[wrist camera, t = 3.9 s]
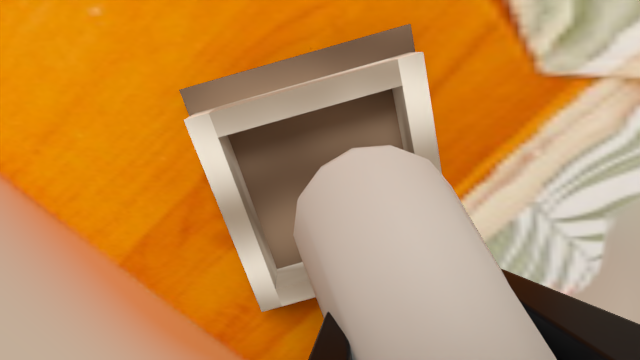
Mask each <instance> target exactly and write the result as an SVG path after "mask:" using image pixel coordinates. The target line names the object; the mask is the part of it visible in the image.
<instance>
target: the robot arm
mask: <svg viewBox="0 0 640 360" xmlns="http://www.w3.org/2000/svg"><path fill="white" fill-rule="evenodd" d="M501 270H502V272H503V274H504V276H505V278H506V280H507V282H508V284H509V285H510V287H511V289H512V290H513V292H514V293H515V295H516V296H517V298H518V299H519V301H520V303H521V304H522V306H523V307H524V309H525V310H526V312H527V314H528V315H529V317H530V318H531V320H532V321H533V323H534V325H535V326H536V328H537V329H538V331H539V332H540V334H541V335H542V337H543V339H544V340H545V342H546V343H547V345H548V346H549V348H550V350H551V351H552V353H553V354H554V356H555V357H556V359H557V360H640V324H638V323H635V322H632V321H630V320H628V319H625V318H623V317H620V316H618V315H615V314H613V313H610V312H608V311H605V310H603V309H600V308H598V307H595V306H592V305H590V304H588V303H585V302H583V301H580V300H578V299H575V298H573V297H570V296H568V295H565V294H563V293H560V292H558V291H555V290H553V289H550V288H548V287H545V286H543V285H540V284H538V283H535V282H533V281H530V280H528V279H525V278H523V277H520V276H518V275H516V274H513V273H511V272H508V271H506V270H503V269H501ZM308 360H352V354H351V348H350V344H349V341H348V339H347V337H346V336H345V334H344V332H343V331H342V330H341V328H340V327H339V325H338V324H337V322H336V321H335V319H334V318H333V316H332V315H331V314H330V312H329V311H328V312H327V313H326V316H325V318H324V321H323V323H322V326H321V328H320V331H319V334H318V336H317V339H316V341H315V344H314V346H313V349H312V351H311V354H310V356H309V359H308Z"/></svg>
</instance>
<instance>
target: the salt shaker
mask: <svg viewBox="0 0 640 360" xmlns="http://www.w3.org/2000/svg"><path fill="white" fill-rule="evenodd" d="M293 236H294V239H295V242H296V244H297V247H298V250H299V253H300V256H301V259H302V262H303V265H304V267H305V270H306V272H307V275H308V278H309V280H310V283H311V285H312V288H313V291H314V293H315V296H316V298H317V301H318V304H319V306H320V309H321V311H322V314H323V317H324V318H325V316H326V313H327V312H328V311H329V312H330V314H331V315H332V316H333V318H334V319H335V321H336V322H337V324H338V325H339V327H340V328H341V330H342V331H343V332H344V334H345V336H346V337H347V339H348V341H349V344H350V348H351V354H352V360H557V359H556V357H555V356H554V354H553V353H552V351H551V350H550V348H549V346H548V345H547V343H546V342H545V340H544V339H543V337H542V335H541V334H540V332H539V331H538V329H537V328H536V326H535V325H534V323H533V321H532V320H531V318H530V317H529V315H528V314H527V312H526V310H525V309H524V307H523V306H522V304H521V303H520V301H519V299H518V298H517V296H516V295H515V293H514V292H513V290H512V289H511V287H510V285H509V284H508V282H507V280H506V278H505V276H504V274H503V272H502V270H501V269H500V267H499V265H498V264H497V262H496V260H495V259H494V257H493V255H492V254H491V252H490V250H489V249H488V247H487V245H486V243H485V242H484V240H483V238H482V237H481V235H480V233H479V232H478V230H477V228H476V227H475V225H474V223H473V222H472V220H471V218H470V217H469V215H468V213H467V212H466V210H465V208H464V207H463V205H462V203H461V202H460V200H459V198H458V196H457V195H456V193H455V191H454V190H453V188H452V186H451V185H450V184H449V183H448V182H447V180H446V179H445V178H444V177H443V176H442V174H441V173H440V172H439V171H438V170H437V168H436V167H435V166H434V165H433V164H432V163H431V161H430V160H429V159H426V158H424V157H421V156H418V155H416V154H413V153H410V152H408V151H405V150H402V149H399V148H397V147H394V146H391V145H384V146H371V147H358V148H352V149H350V150H348V151H346V152H345V153H343V154H341V155H340V156H338V157H336V158H335V159H333V160H331V161H330V162H328V163H326V164H325V165H323V166H321V167H320V169H319V170H318V171H317V173H316V174H315V175H314V177H313V178H312V179H311V181H310V182H309V184H308V185H307V186H306V188H305V189H304V190H303V192H302V193H301V194H300V196H299V198H298V200H297V207H296V216H295V225H294V233H293Z"/></svg>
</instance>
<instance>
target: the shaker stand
mask: <svg viewBox="0 0 640 360" xmlns="http://www.w3.org/2000/svg"><path fill="white" fill-rule="evenodd" d="M179 91H180V93H181V96H182V98H183V101H184V103H185V106H186V108H187V111H188V113H189V116H190V117H188V118H187V119H185V120H184V122H185V125H186V127H187V130H188V132H189V134H190V137H191V139H192V142H193V144H194V147H195V149H196V152H197V154H198V157H199V159H200V161H201V164H202V166H203V169H204V171H205V174H206V176H207V179H208V181H209V184H210V186H211V188H212V191H213V193H214V196H215V198H216V201H217V203H218V206H219V208H220V211H221V213H222V215H223V218H224V220H225V223H226V225H227V228H228V230H229V233H230V235H231V238H232V240H233V242H234V245H235V247H236V250H237V252H238V255H239V257H240V260H241V262H242V265H243V267H244V269H245V272H246V274H247V277H248V279H249V282H250V284H251V287H252V289H253V292H254V294H255V296H256V299H257V301H258V304H259V306H260V309H261V311H262V312H263V311H267V310H271V309H274V308H278V307H281V306H285V305H289V304H292V303H296V302H300V301H303V300H307V299H311V298H314V297H316V296H315V293H314V291H313V288H312V285H311V283H310V280H309V278H308V275H307V272H306V270H305V267H304V265H303V262H302V259H301V256H300V253H299V250H298V247H297V244H296V242H295V239H294V236H293V233H294V225H295V216H296V207H297V200H298V198H299V196H300V194H301V193H302V192H303V190H304V189H305V188H306V186H307V185H308V184H309V182H310V181H311V179H312V178H313V177H314V175H315V174H316V173H317V171H318V170H319V169H320V167H321V166H323V165H325V164H326V163H328V162H330V161H331V160H333V159H335V158H336V157H338V156H340V155H341V154H343V153H345V152H346V151H348V150H350V149H352V148H358V147H371V146H384V145H391V146H394V147H397V148H399V149H402V150H405V151H408V152H410V153H413V154H416V155H418V156H421V157H424V158H426V159H429V160H430V161H431V163H432V164H433V165H434V166H435V167H436V168H437V170H438V171H439V172H440V173H441V174H442V172H441V165H440V159H439V152H438V146H437V139H436V132H435V126H434V119H433V113H432V106H431V100H430V93H429V87H428V80H427V74H426V67H425V61H424V54H423V52H415V48H414V42H413V36H412V30H411V24H408V25H404V26H401V27H397V28H394V29H390V30H387V31H383V32H380V33H376V34H373V35H369V36H366V37H362V38H359V39H355V40H352V41H348V42H345V43H341V44H338V45H334V46H331V47H327V48H324V49H320V50H317V51H313V52H310V53H306V54H303V55H299V56H296V57H292V58H289V59H286V60H282V61H279V62H275V63H272V64H268V65H265V66H261V67H258V68H254V69H251V70H247V71H244V72H240V73H237V74H233V75H230V76H226V77H223V78H219V79H216V80H212V81H209V82H205V83H202V84H198V85H195V86H191V87H188V88H184V89H181V90H179Z"/></svg>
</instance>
